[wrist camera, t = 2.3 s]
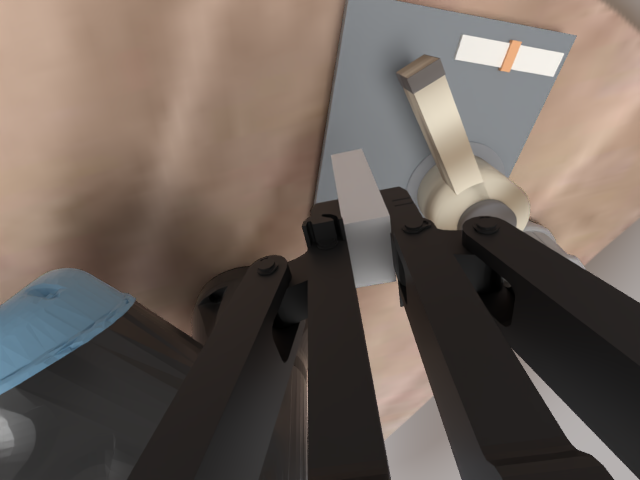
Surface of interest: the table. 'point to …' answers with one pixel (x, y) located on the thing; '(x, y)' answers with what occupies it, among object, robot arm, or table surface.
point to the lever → (455, 157)
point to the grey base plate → (463, 79)
